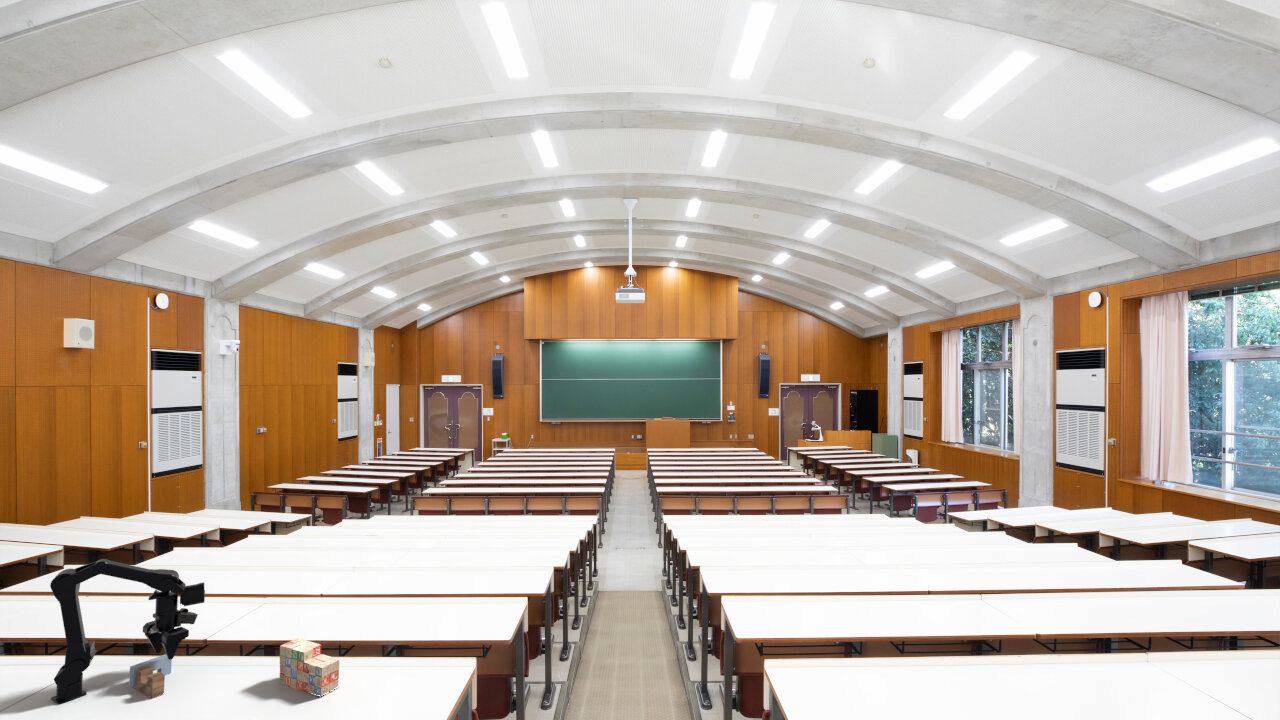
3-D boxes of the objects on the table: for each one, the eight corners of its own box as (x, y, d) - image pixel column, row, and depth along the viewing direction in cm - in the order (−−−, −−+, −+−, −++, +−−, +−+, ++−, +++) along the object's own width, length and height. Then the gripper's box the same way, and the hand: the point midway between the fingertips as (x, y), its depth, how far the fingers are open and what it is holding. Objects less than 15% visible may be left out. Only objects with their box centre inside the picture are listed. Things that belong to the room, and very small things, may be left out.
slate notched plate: (133, 687, 178) (134, 668, 178) (129, 685, 179) (130, 666, 179) (171, 673, 186) (171, 655, 187) (167, 671, 188) (167, 653, 188)
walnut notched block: (135, 688, 177) (136, 669, 177) (147, 684, 180) (147, 665, 180) (152, 698, 171) (152, 679, 172) (163, 693, 174) (164, 674, 174)
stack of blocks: (339, 688, 177) (340, 649, 178) (320, 698, 171) (321, 658, 172) (297, 673, 186) (298, 637, 187) (278, 682, 180) (279, 644, 181)
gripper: (207, 606, 190) (205, 652, 189) (182, 596, 199) (180, 640, 198) (168, 618, 180) (166, 666, 179) (143, 607, 189) (140, 653, 188)
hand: (164, 656), depth 186 cm, fingers open, 9 cm apart
